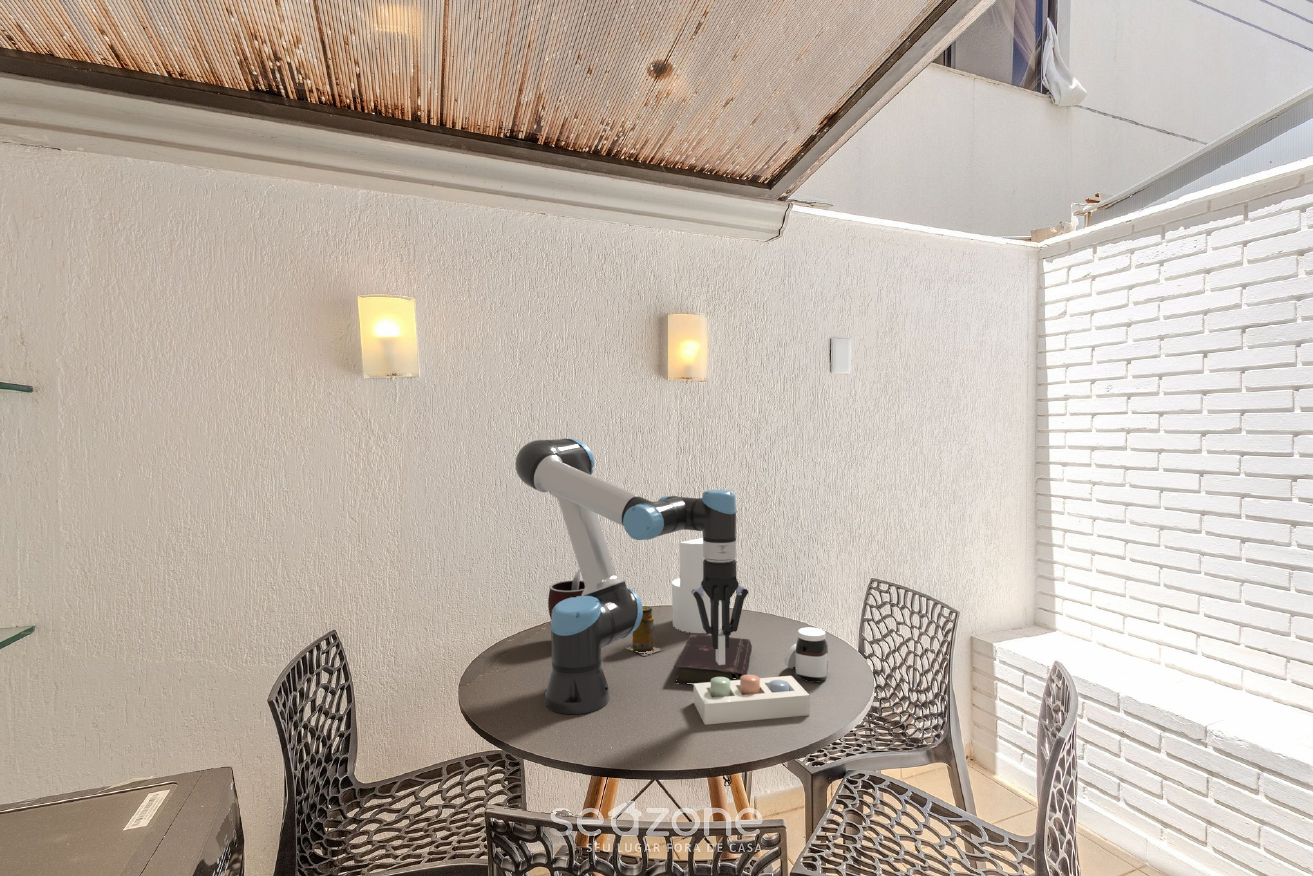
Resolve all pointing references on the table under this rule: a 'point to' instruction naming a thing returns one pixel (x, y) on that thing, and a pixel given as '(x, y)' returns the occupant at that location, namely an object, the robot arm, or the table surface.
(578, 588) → the mate gourd
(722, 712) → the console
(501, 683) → the table surface
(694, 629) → the cylinder
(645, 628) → the condiment
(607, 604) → the robot arm
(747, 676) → the terracotta button
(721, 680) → the sage button
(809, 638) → the spread jar
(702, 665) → the diary
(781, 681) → the slate button
